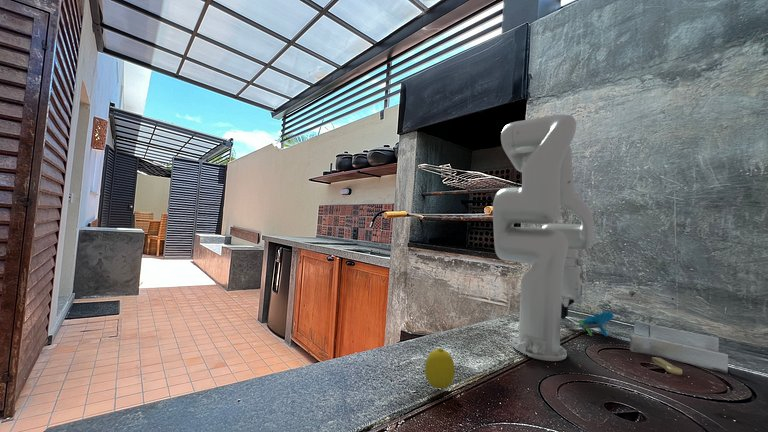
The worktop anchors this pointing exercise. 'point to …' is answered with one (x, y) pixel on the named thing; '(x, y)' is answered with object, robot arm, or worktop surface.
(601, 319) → the blue green toy animal
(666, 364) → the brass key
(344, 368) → the worktop surface
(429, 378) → the lemon
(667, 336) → the channel
